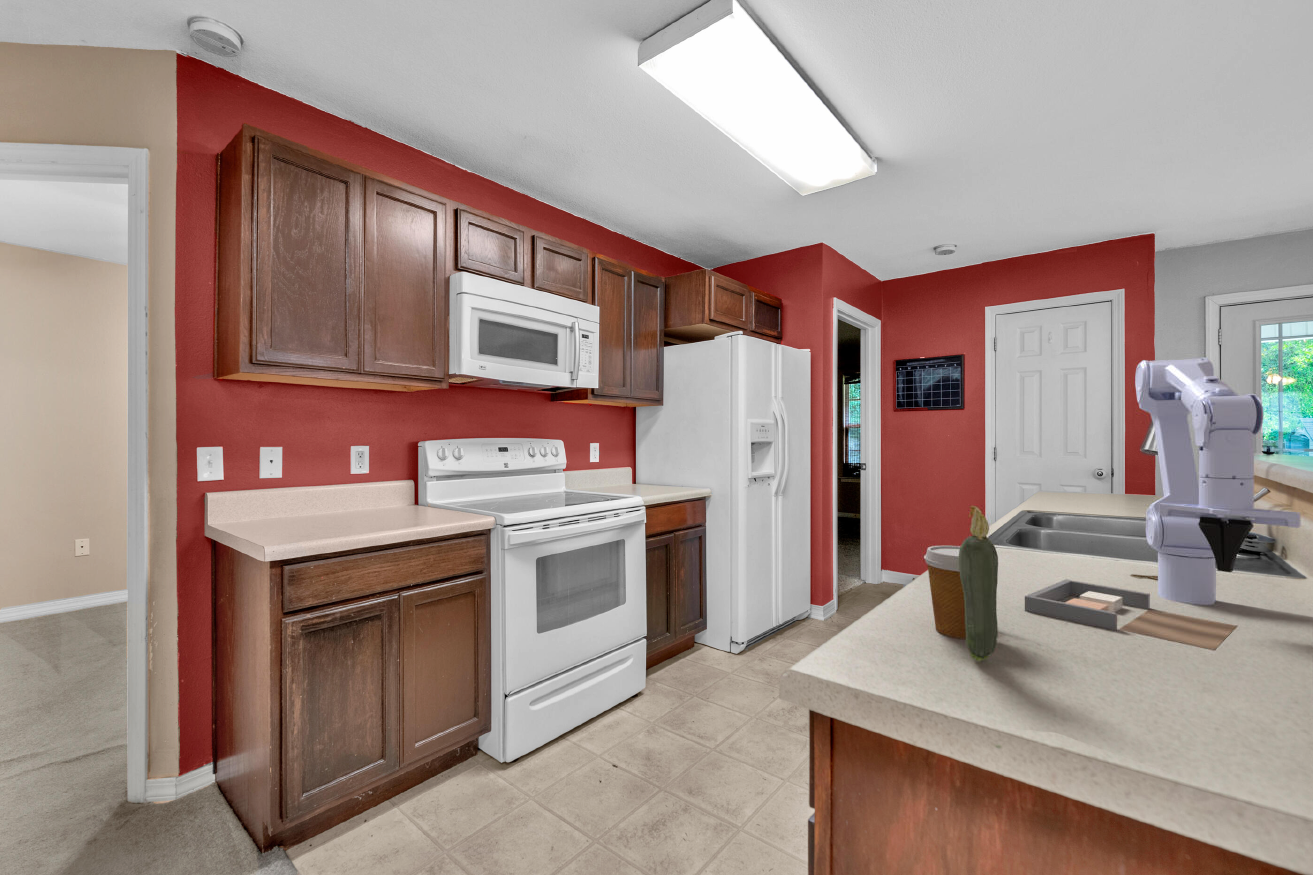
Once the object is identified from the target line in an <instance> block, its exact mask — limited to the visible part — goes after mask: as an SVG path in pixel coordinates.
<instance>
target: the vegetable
mask: <svg viewBox="0 0 1313 875" xmlns="http://www.w3.org/2000/svg"><path fill="white" fill-rule="evenodd" d="M969 509H970V511H969V515H968V517H969V518H970V517H972V518H971V525H970V534H972V535H970V536H967V537H966V538H965V539H964V540H963V541H962V543H961V545H960V550H959V571H960V579H961V583H962V587H963V592H964V601H965V628H966V639H965V641H966V642H965V643H966V645H967V648H968V650H969V652H970V653H969V654H970V657H971V658H972V659H974V660H975V661H976V662H977V663H978V662H980V661H982V660H983V661H986V660H988V658H989V657H990V656H991V655H992V654H993V653H994V652H995V650H996V647H997V643H998V642H997V640H998V633H999V632H998V627H999V626H998V617H997V616H998V615H997V612H998V611H997V596H998V595H997V593H998V592H997V589H998V581H999V579H998V577H999V575H998V572H999V571H998V570H999V556H998V551H997V549H996V546H995V545H994V543H993V542H992V541H991V540H990V539H989V538H988V537H987V535H988V534H989V532H990V526H989V522H988V520H987V518H986V517H985V515H984V514H983V513H982V511H981V509H980V508H979V507H976V506H975V505H971V506H970V507H969Z"/></svg>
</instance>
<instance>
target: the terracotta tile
mask: <svg viewBox="0 0 1313 875" xmlns="http://www.w3.org/2000/svg"><path fill="white" fill-rule="evenodd" d="M1064 603H1069V604H1074V605H1079V606H1084V607H1089V608H1094V609H1099V610H1104V611H1108V605H1107V604H1102V603H1097V602H1091V601H1086V600H1081V599H1080V598H1071V599H1069V600H1067V601H1066V602H1064Z"/></svg>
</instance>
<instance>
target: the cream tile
mask: <svg viewBox="0 0 1313 875" xmlns="http://www.w3.org/2000/svg"><path fill="white" fill-rule="evenodd" d="M1079 599H1081V600H1086V601H1091V602H1097V603H1102V604H1107V605H1108V611H1109V612H1114V613H1117V612H1118V611H1120V610H1122V609H1123V604H1122V597H1119V596H1113V595H1108V594H1102V593H1097V592H1091V591H1088V592H1086V593H1084V594H1082V595H1080V596H1079Z"/></svg>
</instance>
